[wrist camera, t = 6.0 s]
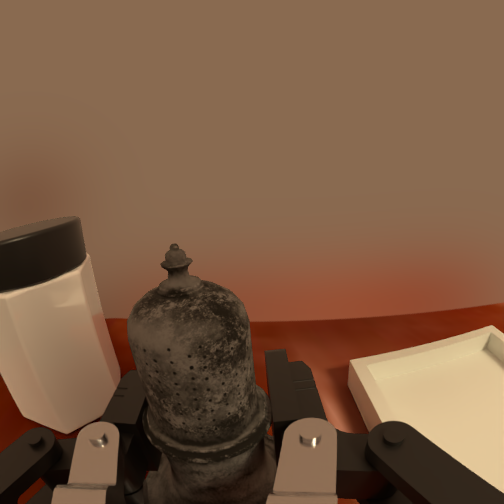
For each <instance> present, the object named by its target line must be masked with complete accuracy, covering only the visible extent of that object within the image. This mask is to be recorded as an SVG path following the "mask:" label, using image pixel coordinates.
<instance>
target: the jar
mask: <svg viewBox="0 0 504 504" xmlns="http://www.w3.org/2000/svg"><path fill="white" fill-rule="evenodd" d="M0 373H1V375H2V377H3V379H4V381H5V383H6V385H7V387H8V389H9V391H10V393H11V395H12V397H13V399H14V401H15V403H16V404H17V406H18V408H19V410H20V411H21V413H22V415H23V416H24V417H26V418H28V419H30V420H33V421H35V422H37V423H39V424H42V425H44V426H47V427H49V428H52V429H54V430H57V431H59V432H62V433H64V434H69V433H71V432H73V431H75V430H77V429H79V428H81V427H83V426H84V425H86V424H88V423H90V422H92V421H94V420H96V419H97V418H99V417H101V416H103V414H104V412H105V409H106V407H107V405H108V403H109V401H110V400H111V398H112V397H113V394H114V392H115V390H116V389H117V386H118V384H119V382H120V380H121V378H120V367H119V364H118V361H117V358H116V355H115V352H114V348H113V345H112V342H111V339H110V335H109V332H108V329H107V325H106V322H105V318H104V315H103V311H102V307H101V303H100V300H99V295H98V291H97V288H96V283H95V279H94V274H93V270H92V265H91V260H90V256H89V254H87V253H86V249H85V244H84V239H83V233H82V227H81V222H80V218H79V217H75V216H73V217H63V218H57V219H51V220H46V221H41V222H37V223H32V224H28V225H24V226H20V227H17V228H13V229H9V230H6V231H3V232H0Z"/></svg>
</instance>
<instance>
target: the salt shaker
mask: <svg viewBox="0 0 504 504" xmlns="http://www.w3.org/2000/svg"><path fill="white" fill-rule="evenodd" d="M165 259H166V261H163V262H162V263H161V266H162V267H163V268H164V269H166V270H167V271H168V279H166V280H164V281H162V282H161V283H160V284H159V286H158V287H156V288H154V289H152V290H150V291H149V292H148V293H146V294H145V295H144V296H143V297H142V298H141V299H140V300H139V301H138V302H137V303H136V304H135V305H134V307H133V309H132V311H131V314H130V316H129V318H128V320H127V331H128V341H129V344H130V348H131V351H132V355H133V358H134V361H135V364H136V368H137V371H138V374H139V377H140V380H141V383H142V386H143V389H144V392H145V395H146V398H147V401H148V403H147V405H146V407H145V409H144V413H143V417H142V423H143V428H144V432H145V434H146V436H147V437H148V439H149V440H150V442H151V443H152V445H154V446H155V447H156V448H157V449H159V450H160V451H161V452H162V456H161V461H160V465H159V469H158V471H149V473H148V475H147V477H146V482H147V485H148V501H149V504H266V501H267V498H268V495H269V493H270V492H272V491H273V487H274V483H275V478H276V473H277V467H276V459H275V450H274V441H273V436H270V435H268V434H267V432H268V430H269V428H270V426H271V424H272V409H271V401H270V398H269V397H268V395H267V394H266V393H265V392H264V390H263V389H262V388H260V387H259V386H257V385H256V382H255V372H254V363H253V353H252V343H251V333H250V323H249V319H248V315H247V312H246V310H245V307H244V304H243V302H242V301H241V300H240V299H238V297H237V296H236V295H235V294H234V293H233V292H231V291H230V290H229V289H227V288H224V287H222V286H220V285H217V284H215V283H213V282H209V281H203V280H201V279H200V278H199V277H196V276H190V275H189V273H188V266H189V265H190V264H191V262H192V259H191V258H186V254H185V252H184V251H183V250H182V249H179V247H178V245H177V244H171V246H170V250H169V251H168V252H167V253H166V254H165Z"/></svg>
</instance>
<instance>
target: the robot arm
mask: <svg viewBox="0 0 504 504" xmlns="http://www.w3.org/2000/svg"><path fill="white" fill-rule="evenodd" d="M265 362H266V374H267V386H268V397H269V398H270V401H271V409H272V432H273V441H274V450H275V459H276V467H277V473H276V478H275V483H274V487H273V491H272V492H270V493H269V495H268V498H267V501H266V504H337V498H345V499H356V500H357V501H358V502H359V503H360V504H504V493H503V492H501V491H500V490H498V489H497V488H495V487H494V486H492V485H491V484H490V483H488V482H487V481H485V480H484V479H482V478H481V477H480V476H478V475H477V474H475V473H474V472H473V471H471V470H470V469H468V468H467V467H466V466H464V465H463V464H462V463H460V462H459V461H457V460H456V459H455V458H453V457H452V456H451V455H449V454H448V453H447V452H445V451H444V450H442V449H441V448H440V447H438V446H437V445H436V444H434V443H433V442H432V441H430V440H429V439H428V438H426V437H425V436H424V435H422V434H421V433H420V432H419V431H417V430H416V429H415V428H413V427H412V426H410V425H409V424H407V423H404V422H401V421H387V422H383V423H380V424H378V425H376V426H375V427H374V428H373V429H372V430H371V431H370V432H369V434H353V433H346V432H342V431H339V430H338V429H336V428H334V426H333V425H332V424H331V423H329V422H328V420H327V418H326V415H325V412H324V409H323V406H322V403H321V399H320V396H319V393H318V390H317V388H316V384H315V381H314V378H313V375H312V372H311V369H310V368H309V367H308V366H307V365H306V364H305V363H304V362H303V361H296V362H288V358H287V354H286V350H285V349H278V350H268V351H265ZM147 403H148V401H147V398H146V395H145V392H144V389H143V386H142V383H141V380H140V377H139V374H138V371H137V370H130V371H129V372H128V373H127V374H126V375H124V376H123V377H122V378H121V380H120V382H119V384H118V386H117V389H116V390H115V392H114V394H113V397H112V398H111V400H110V401H109V403H108V405H107V407H106V409H105V412H104V414H103V416H102V418H101V420H100V422H95V423H92V424H89V425H87V426H86V427H84V428H83V429H82V430H81V431H80V432H79V434H78V436H77V438H71V439H59V440H57V439H56V437H55V436H54V434H53V433H52V431H51V430H49V429H47V428H43V427H38V428H33V429H31V430H29V431H27V432H26V433H24V434H23V435H22V436H21V437H19V438H18V439H17V440H16V441H15V442H13V443H12V444H11V445H10V446H8V447H7V448H6V449H5V450H4V451H2V452H1V453H0V504H18V503H17V501H18V498H19V496H20V495H21V494H23V493H24V492H25V491H26V490H27V489H28V488H29V487H30V486H31V485H32V484H33V483H34V482H36V481H37V480H38V479H39V478H40V477H41V479H42V480H43V481H44V482H45V483H46V485H45V486H44V487H43V488H42V489H40V490H39V491H38V492H37V493H36V494H35V495H34V496H33V497H32V498H31V499H30V500H29V501H28V502H27V503H26V504H149V501H148V485H147V482H146V480H145V475H146V471H158V469H159V465H160V461H161V456H162V452H161V451H160V450H159V449H157V448H156V447H155V446H154V445H152V443H151V442H150V440H149V439H148V437H147V436H146V434H145V432H144V428H143V423H142V417H143V413H144V409H145V407H146V405H147Z"/></svg>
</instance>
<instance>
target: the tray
mask: <svg viewBox="0 0 504 504" xmlns="http://www.w3.org/2000/svg"><path fill="white" fill-rule="evenodd" d="M348 387H349V389H350V391H351V393H352V396H353V398H354V400H355V402H356V404H357V407H358V409H359V411H360V413H361V416H362V418H363V420H364V422H365V425H366V427H367V429H368V431H369V432H370V431H371V430H372V429H373V428H374V427H375V426H376V425H378V424H380V423H383V422H387V421H401V422H404V423H407V424H409V425H410V426H412V427H413V428H415V429H416V430H417V431H419V432H420V433H421V434H422V435H424V436H425V437H426V438H428V439H429V440H430V441H432V442H433V443H434V444H436V445H437V446H438V447H440V448H441V449H442V450H444V451H445V452H447V453H448V454H449V455H451V456H452V457H453V458H455V459H456V460H457V461H459V462H460V463H462V464H463V465H464V466H466V467H467V468H468V469H470V470H471V471H473V472H474V473H475V474H477V475H478V476H480V477H481V478H482V479H484V480H485V481H487V482H488V483H490V484H491V485H492V486H494V487H495V488H497V489H498V490H500V491H501V492H503V493H504V334H503V333H502V332H500V331H499V330H498V329H497V328H495V327H494V326H493V325H491V326H488V327H485V328H481V329H478V330H475V331H472V332H468V333H465V334H462V335H458V336H455V337H451V338H447V339H444V340H440V341H436V342H432V343H428V344H424V345H420V346H416V347H412V348H407V349H403V350H399V351H394V352H389V353H384V354H380V355H375V356H369V357H364V358H359V359H353V360H350V364H349V375H348Z"/></svg>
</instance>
